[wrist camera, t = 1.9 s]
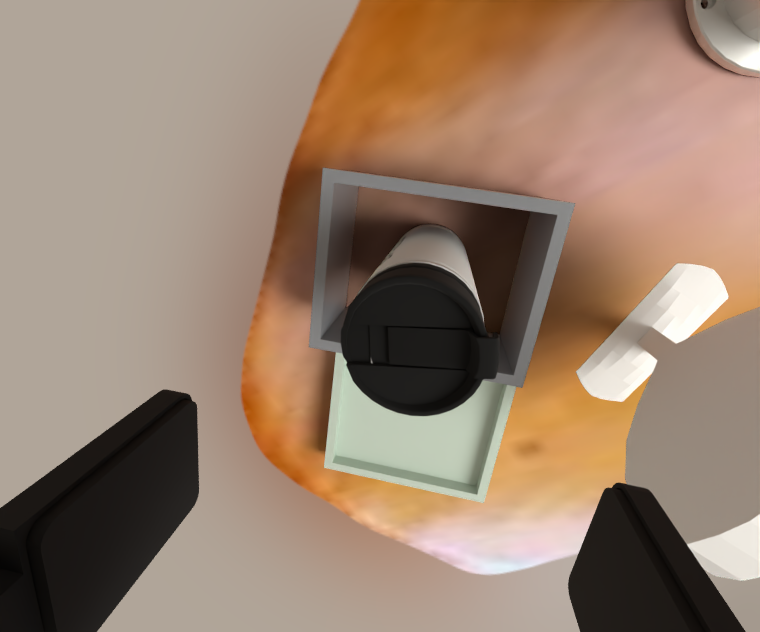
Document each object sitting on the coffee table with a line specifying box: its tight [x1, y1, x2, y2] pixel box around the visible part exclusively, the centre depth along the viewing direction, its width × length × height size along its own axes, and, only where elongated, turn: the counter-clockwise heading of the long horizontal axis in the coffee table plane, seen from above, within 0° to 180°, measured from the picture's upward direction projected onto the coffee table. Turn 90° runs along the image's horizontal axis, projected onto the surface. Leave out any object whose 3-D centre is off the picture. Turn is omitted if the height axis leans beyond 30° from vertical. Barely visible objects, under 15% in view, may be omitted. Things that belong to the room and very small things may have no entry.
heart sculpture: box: [576, 263, 760, 581], centre depth 25 cm, size 16×5×18 cm, turn 149°
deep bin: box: [309, 168, 575, 388], centre depth 31 cm, size 13×16×8 cm
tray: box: [324, 352, 516, 503], centre depth 38 cm, size 14×16×2 cm
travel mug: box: [341, 224, 500, 416], centre depth 25 cm, size 6×7×20 cm
